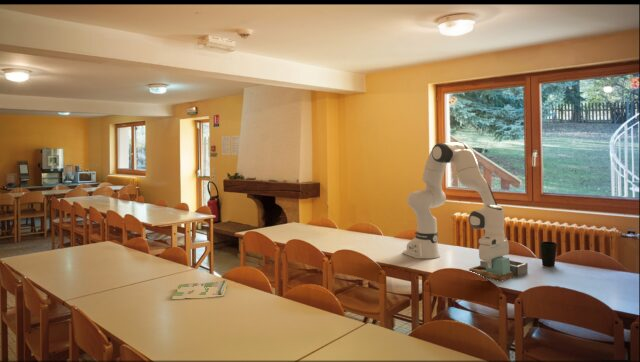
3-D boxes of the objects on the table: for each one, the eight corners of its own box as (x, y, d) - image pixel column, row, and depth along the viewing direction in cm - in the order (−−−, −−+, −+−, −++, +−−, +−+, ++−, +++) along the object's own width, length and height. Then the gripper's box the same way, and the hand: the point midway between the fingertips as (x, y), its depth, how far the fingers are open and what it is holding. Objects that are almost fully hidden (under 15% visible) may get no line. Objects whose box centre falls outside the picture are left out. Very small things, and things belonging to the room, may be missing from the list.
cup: (558, 267, 217) (559, 244, 216) (542, 267, 218) (543, 244, 218) (553, 263, 224) (554, 241, 224) (538, 263, 226) (538, 241, 225)
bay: (500, 272, 212) (500, 263, 211) (510, 269, 217) (510, 259, 217) (517, 276, 204) (517, 266, 204) (527, 273, 210) (527, 263, 209)
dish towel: (223, 298, 189) (223, 290, 189) (170, 301, 187) (170, 293, 187) (228, 286, 206) (227, 278, 206) (179, 289, 204) (179, 281, 204)
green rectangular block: (478, 270, 211) (478, 256, 211) (485, 268, 214) (485, 254, 214) (503, 274, 200) (502, 260, 200) (510, 272, 204) (509, 257, 204)
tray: (469, 273, 213) (469, 268, 212) (482, 269, 219) (482, 264, 219) (500, 281, 199) (500, 276, 199) (513, 276, 205) (513, 271, 205)
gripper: (500, 234, 214) (500, 261, 215) (476, 240, 203) (476, 268, 204) (512, 236, 209) (512, 263, 210) (488, 242, 198) (488, 271, 199)
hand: (494, 266), depth 207 cm, fingers closed on green rectangular block, 6 cm apart
